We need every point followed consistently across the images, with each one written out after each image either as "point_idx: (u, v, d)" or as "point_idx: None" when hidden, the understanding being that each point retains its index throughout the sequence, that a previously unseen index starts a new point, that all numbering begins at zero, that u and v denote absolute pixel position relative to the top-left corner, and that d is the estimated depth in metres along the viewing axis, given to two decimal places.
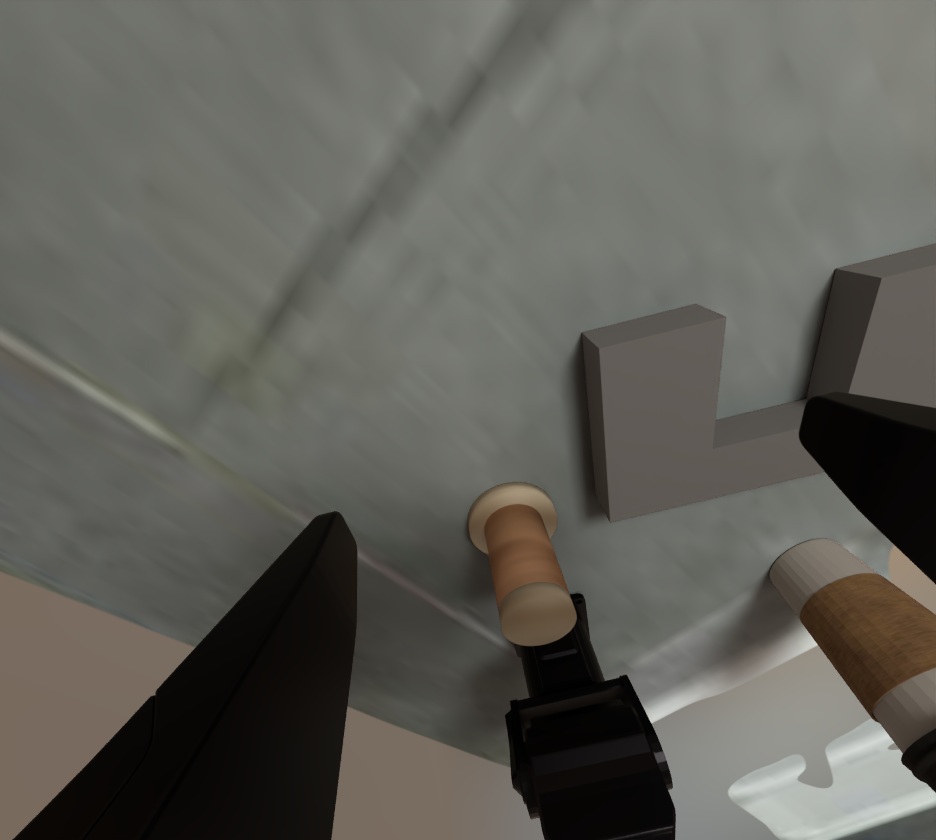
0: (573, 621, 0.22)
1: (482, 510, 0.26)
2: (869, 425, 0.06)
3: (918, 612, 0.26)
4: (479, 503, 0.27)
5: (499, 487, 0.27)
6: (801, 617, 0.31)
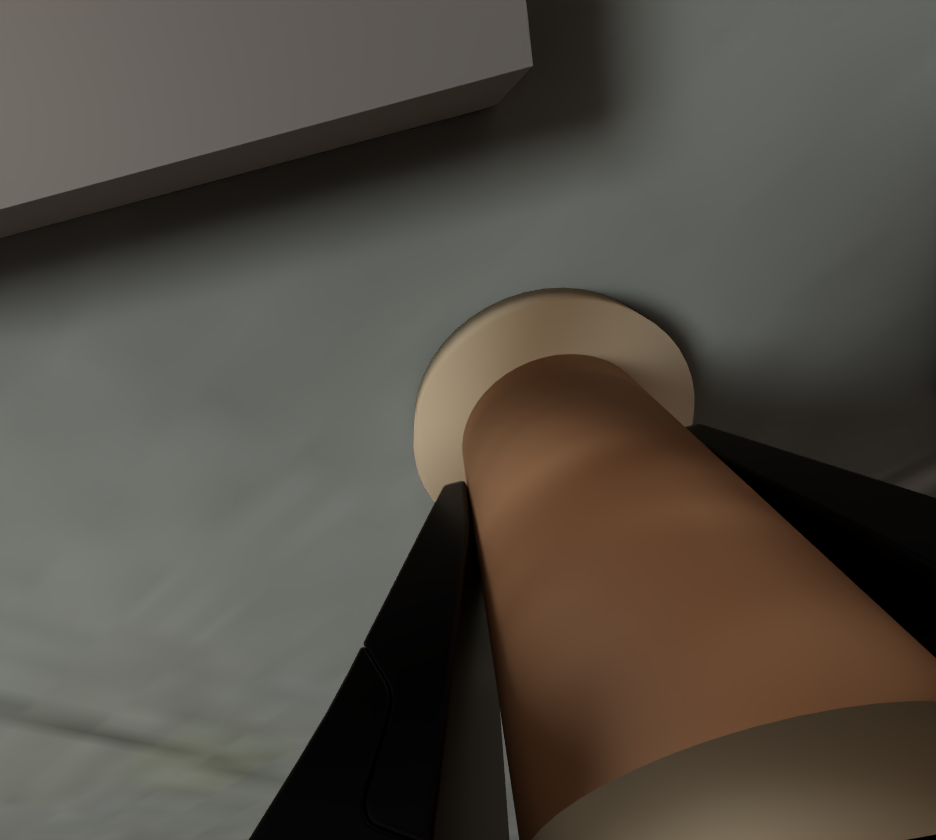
0: None
1: None
2: None
3: None
4: None
5: None
6: None
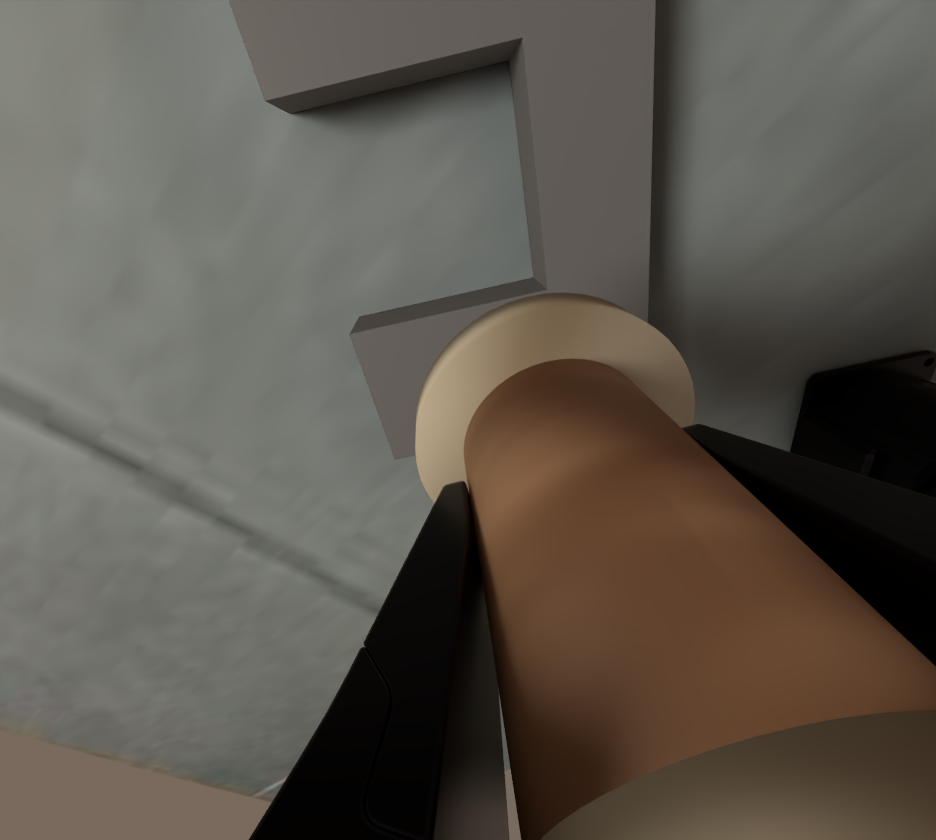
0: None
1: None
2: None
3: None
4: None
5: None
6: None
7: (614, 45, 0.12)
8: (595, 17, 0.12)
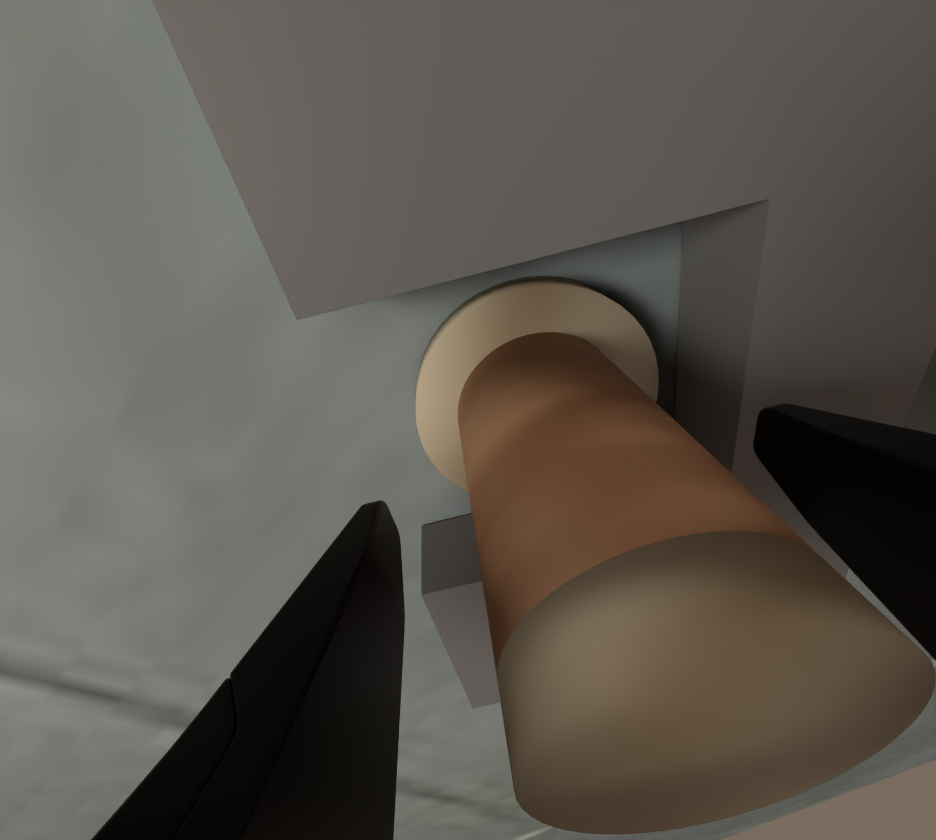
0: (806, 642, 0.03)
1: None
2: (813, 438, 0.06)
3: None
4: None
5: None
6: None
7: (926, 202, 0.07)
8: (907, 159, 0.07)
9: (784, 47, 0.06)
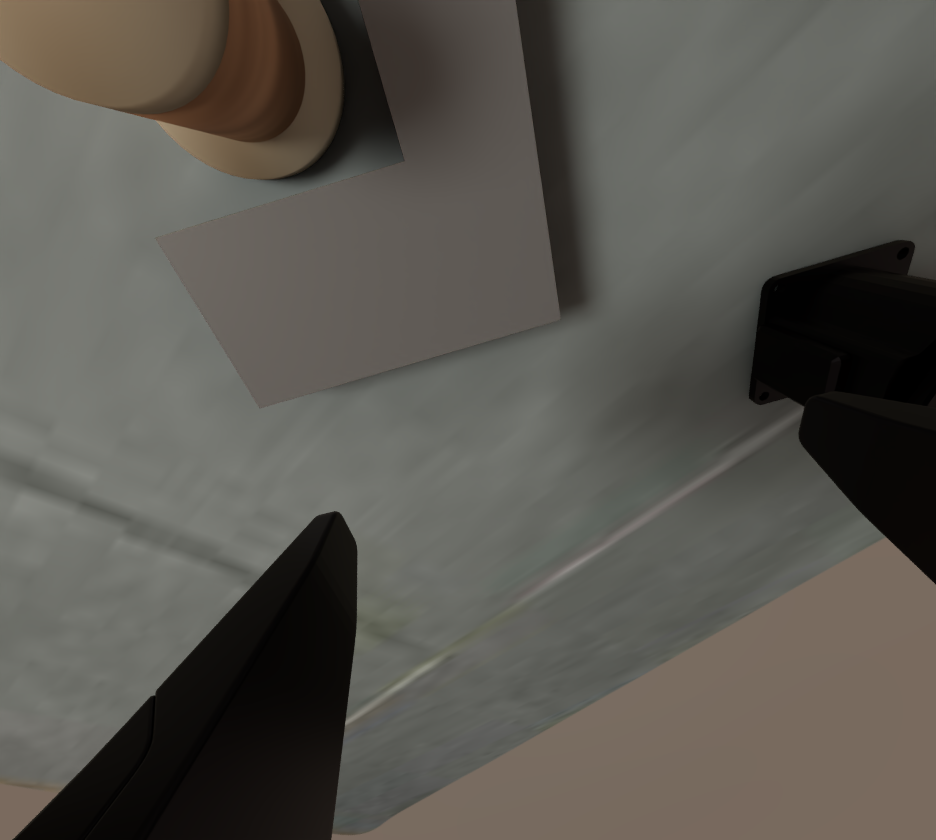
0: None
1: (200, 148, 0.13)
2: (869, 425, 0.06)
3: None
4: (197, 155, 0.13)
5: None
6: None
7: None
8: None
9: None
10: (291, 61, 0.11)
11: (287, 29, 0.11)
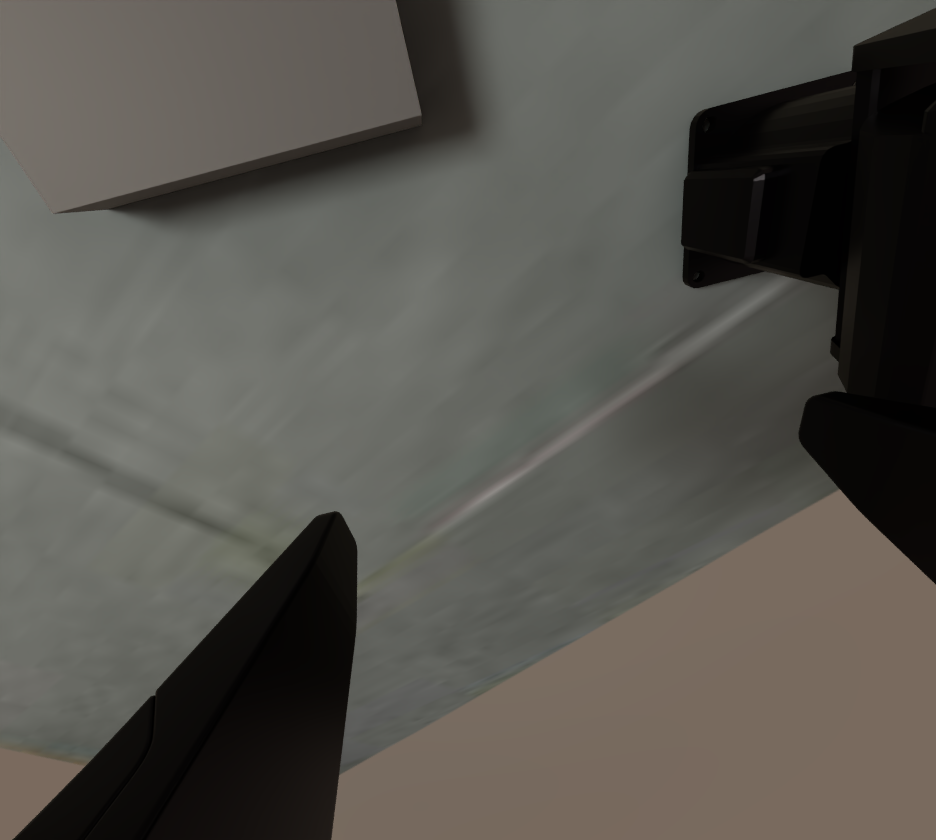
0: None
1: None
2: (869, 425, 0.06)
3: None
4: None
5: None
6: None
7: None
8: None
9: None
10: None
11: None
